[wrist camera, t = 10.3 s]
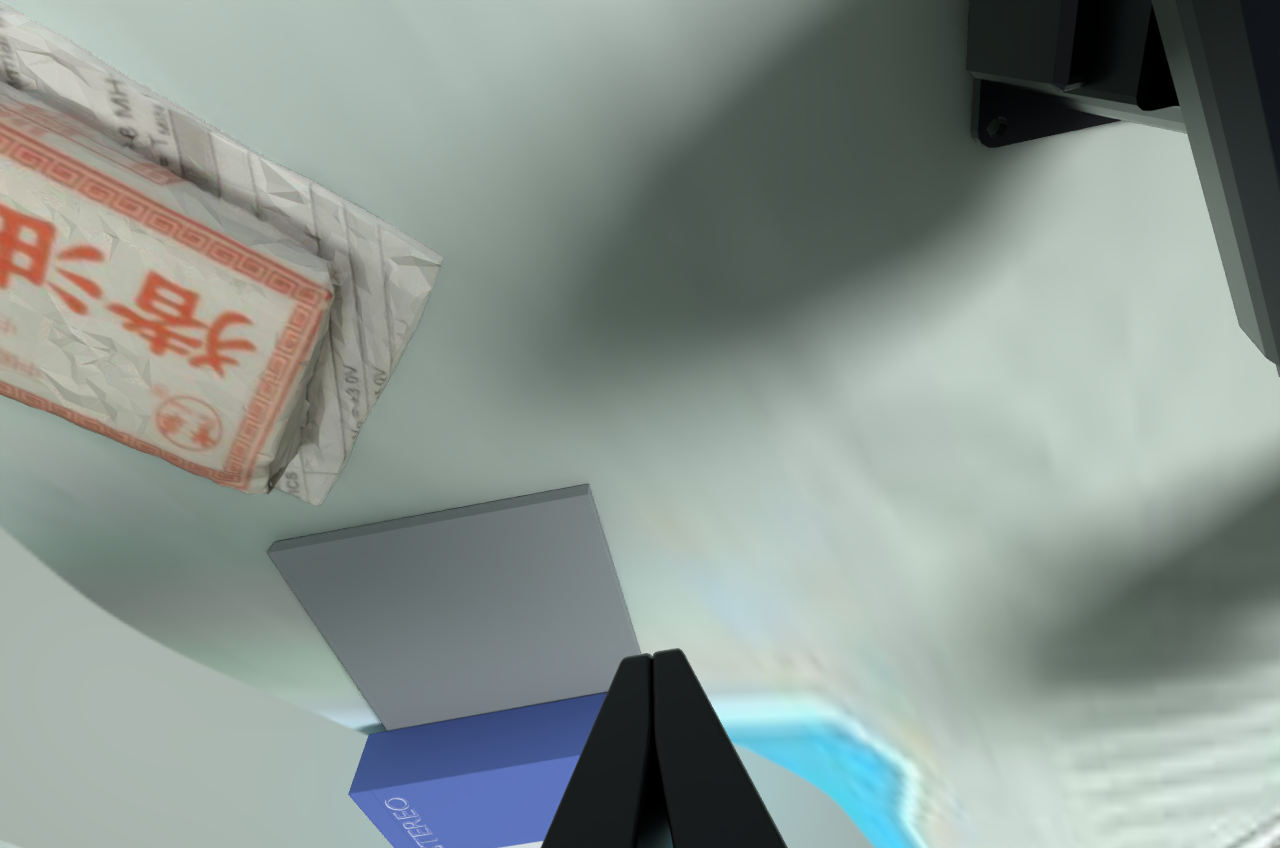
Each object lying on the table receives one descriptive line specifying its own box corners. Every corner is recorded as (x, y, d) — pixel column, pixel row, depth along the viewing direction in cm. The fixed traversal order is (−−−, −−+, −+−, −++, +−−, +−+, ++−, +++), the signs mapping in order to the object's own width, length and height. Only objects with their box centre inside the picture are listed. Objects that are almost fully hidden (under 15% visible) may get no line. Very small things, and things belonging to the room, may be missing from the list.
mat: (588, 484, 24) (588, 494, 23) (669, 744, 32) (669, 756, 31) (274, 542, 25) (266, 553, 24) (431, 780, 33) (428, 792, 32)
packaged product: (-558, 263, 14) (-710, -282, 10) (-295, 207, 18) (-324, -195, 14) (280, 579, 20) (413, 313, 16) (339, 482, 24) (456, 251, 20)
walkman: (619, 688, 29) (361, 734, 30) (619, 749, 26) (339, 796, 28) (659, 786, 33) (430, 823, 34) (662, 847, 30) (416, 884, 32)
